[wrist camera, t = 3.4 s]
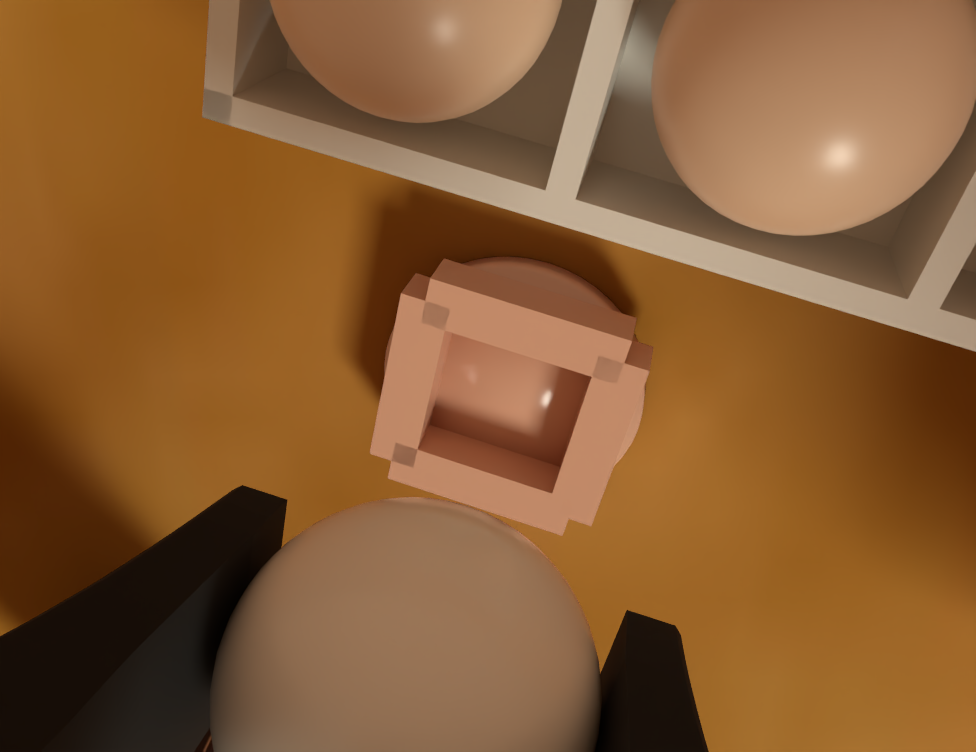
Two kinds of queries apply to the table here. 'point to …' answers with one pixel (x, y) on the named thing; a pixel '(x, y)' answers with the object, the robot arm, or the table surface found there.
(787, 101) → the carton
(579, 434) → the egg cup
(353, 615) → the white rounded ball
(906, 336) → the table surface
